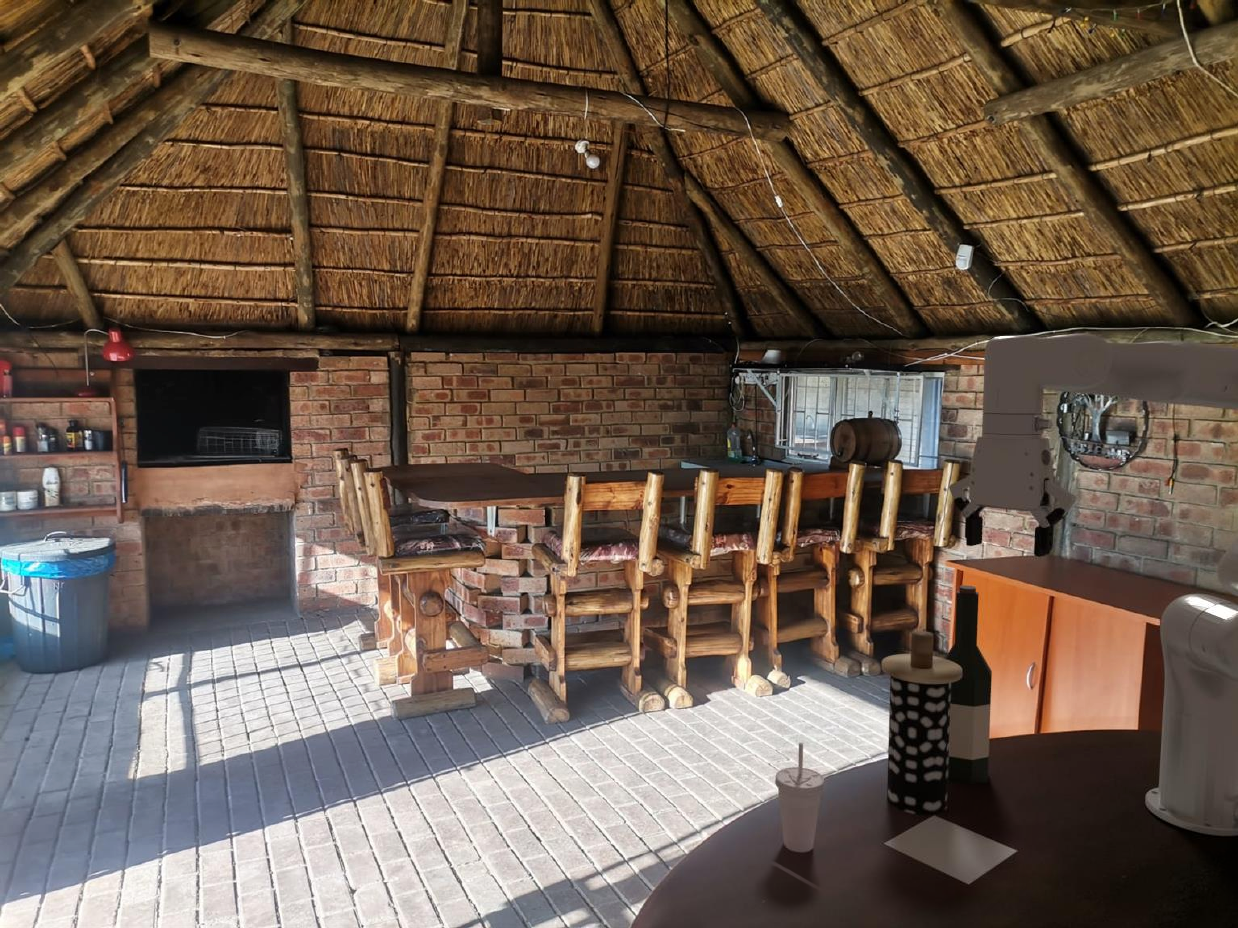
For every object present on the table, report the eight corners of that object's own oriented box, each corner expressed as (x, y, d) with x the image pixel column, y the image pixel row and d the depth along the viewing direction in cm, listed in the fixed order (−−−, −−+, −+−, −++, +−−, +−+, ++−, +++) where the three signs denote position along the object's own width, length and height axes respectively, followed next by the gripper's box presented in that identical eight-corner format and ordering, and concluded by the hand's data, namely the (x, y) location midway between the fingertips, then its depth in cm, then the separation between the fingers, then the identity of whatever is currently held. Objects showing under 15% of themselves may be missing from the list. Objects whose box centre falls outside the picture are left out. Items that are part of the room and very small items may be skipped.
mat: (1017, 853, 113) (1017, 850, 113) (968, 886, 105) (968, 883, 105) (933, 817, 122) (933, 815, 122) (883, 846, 115) (884, 843, 115)
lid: (976, 672, 124) (978, 635, 123) (935, 689, 117) (937, 650, 116) (908, 654, 132) (909, 619, 132) (866, 669, 125) (867, 632, 125)
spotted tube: (940, 822, 121) (944, 684, 119) (880, 807, 125) (883, 673, 123) (952, 798, 128) (956, 667, 126) (895, 785, 132) (898, 658, 130)
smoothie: (825, 839, 116) (827, 739, 115) (820, 863, 110) (822, 758, 109) (778, 831, 119) (779, 732, 117) (770, 855, 112) (772, 751, 111)
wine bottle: (998, 786, 132) (1006, 593, 129) (943, 785, 132) (950, 593, 129) (977, 762, 140) (984, 581, 137) (925, 762, 140) (931, 580, 137)
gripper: (1089, 428, 114) (1083, 556, 115) (967, 424, 127) (963, 538, 129) (1063, 430, 109) (1057, 563, 111) (939, 425, 123) (935, 544, 124)
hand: (1006, 549), depth 120 cm, fingers open, 9 cm apart
